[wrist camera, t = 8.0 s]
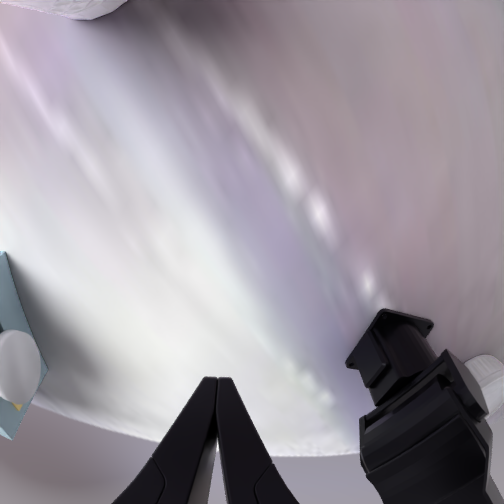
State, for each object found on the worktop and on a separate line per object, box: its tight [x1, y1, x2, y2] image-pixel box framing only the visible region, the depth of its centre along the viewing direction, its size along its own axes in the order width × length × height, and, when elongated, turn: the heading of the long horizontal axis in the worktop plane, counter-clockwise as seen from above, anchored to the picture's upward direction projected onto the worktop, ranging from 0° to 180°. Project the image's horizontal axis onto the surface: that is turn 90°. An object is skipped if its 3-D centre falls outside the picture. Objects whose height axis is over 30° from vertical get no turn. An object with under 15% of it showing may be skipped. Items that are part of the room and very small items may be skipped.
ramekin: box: [464, 355, 504, 420], centre depth 27 cm, size 11×11×5 cm
